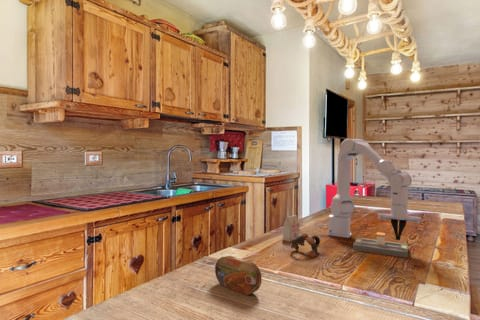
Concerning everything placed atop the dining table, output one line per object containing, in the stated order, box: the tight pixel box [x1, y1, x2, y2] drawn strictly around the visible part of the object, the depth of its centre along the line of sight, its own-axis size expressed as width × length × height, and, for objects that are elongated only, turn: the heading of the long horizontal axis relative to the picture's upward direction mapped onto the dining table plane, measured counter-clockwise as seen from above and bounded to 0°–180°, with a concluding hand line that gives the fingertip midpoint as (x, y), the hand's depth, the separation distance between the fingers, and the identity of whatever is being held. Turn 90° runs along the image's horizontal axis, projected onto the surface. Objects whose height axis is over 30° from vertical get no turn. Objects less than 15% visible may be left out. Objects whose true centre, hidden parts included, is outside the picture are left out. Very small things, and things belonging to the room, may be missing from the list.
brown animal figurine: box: [290, 233, 321, 258], centre depth 123 cm, size 12×10×8 cm
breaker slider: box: [375, 231, 386, 245], centre depth 128 cm, size 3×4×4 cm
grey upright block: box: [282, 214, 301, 242], centre depth 140 cm, size 4×7×10 cm, turn 135°
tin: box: [214, 255, 262, 296], centre depth 90 cm, size 15×3×8 cm, turn 50°
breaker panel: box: [352, 236, 409, 259], centre depth 128 cm, size 19×12×3 cm, turn 64°
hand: (397, 239), depth 125 cm, fingers closed
